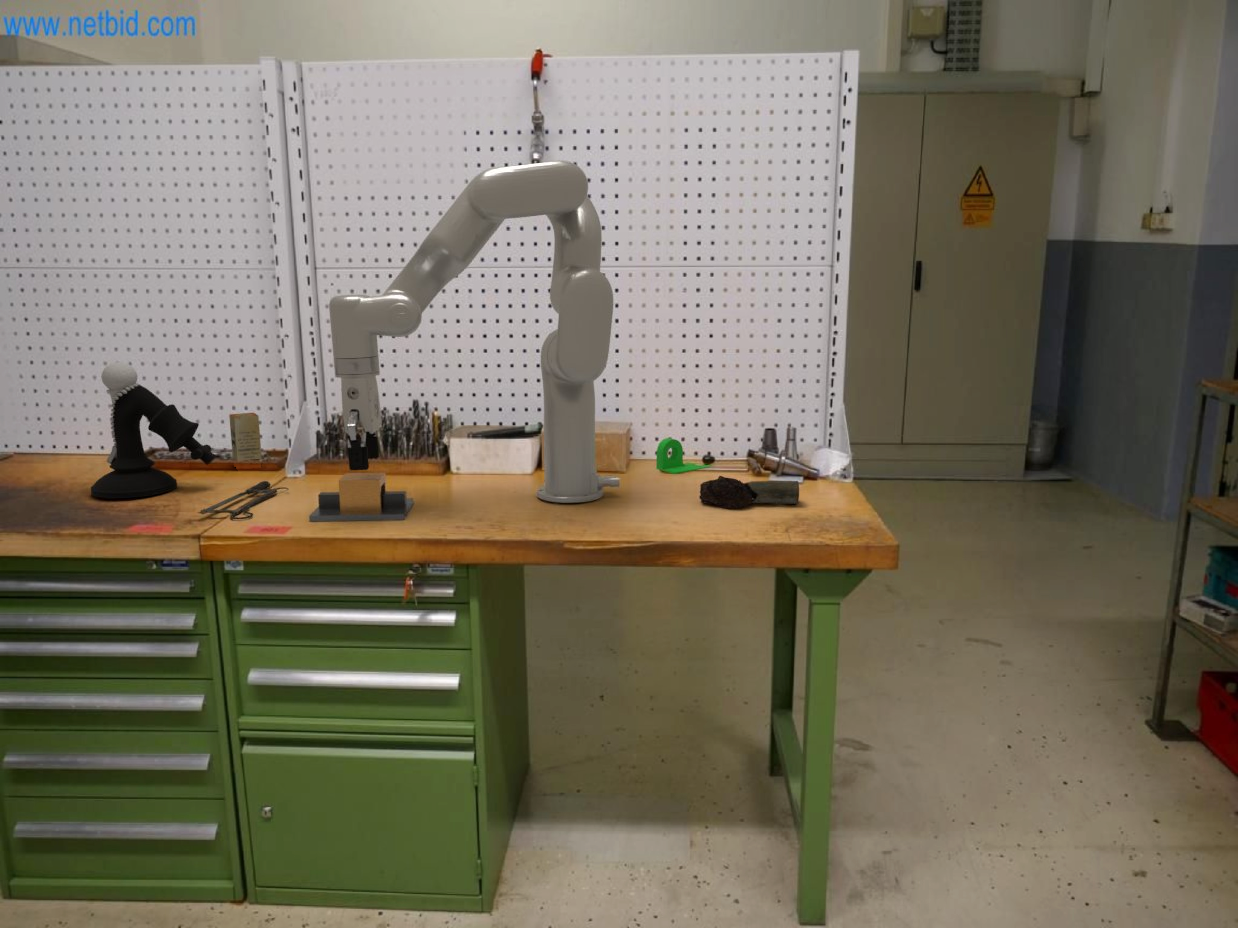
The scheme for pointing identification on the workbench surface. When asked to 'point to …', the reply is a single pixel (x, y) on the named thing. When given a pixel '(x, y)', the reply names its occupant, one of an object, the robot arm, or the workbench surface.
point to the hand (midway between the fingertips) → (364, 463)
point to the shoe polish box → (245, 436)
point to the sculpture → (128, 453)
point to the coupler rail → (392, 509)
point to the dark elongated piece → (748, 492)
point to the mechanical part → (674, 458)
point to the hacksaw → (254, 489)
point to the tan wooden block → (361, 491)
